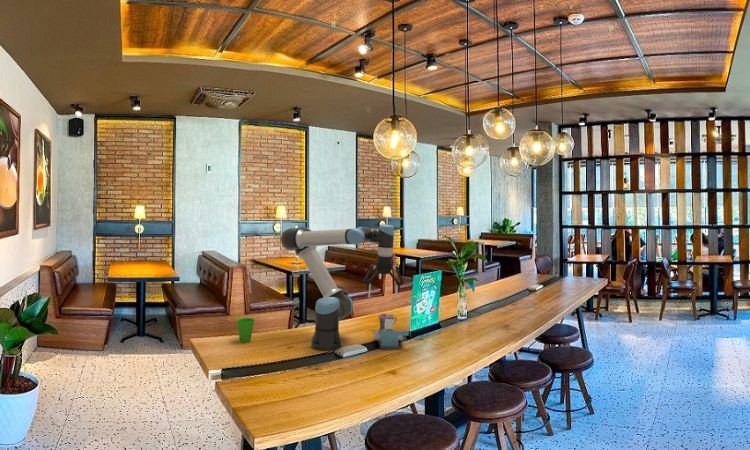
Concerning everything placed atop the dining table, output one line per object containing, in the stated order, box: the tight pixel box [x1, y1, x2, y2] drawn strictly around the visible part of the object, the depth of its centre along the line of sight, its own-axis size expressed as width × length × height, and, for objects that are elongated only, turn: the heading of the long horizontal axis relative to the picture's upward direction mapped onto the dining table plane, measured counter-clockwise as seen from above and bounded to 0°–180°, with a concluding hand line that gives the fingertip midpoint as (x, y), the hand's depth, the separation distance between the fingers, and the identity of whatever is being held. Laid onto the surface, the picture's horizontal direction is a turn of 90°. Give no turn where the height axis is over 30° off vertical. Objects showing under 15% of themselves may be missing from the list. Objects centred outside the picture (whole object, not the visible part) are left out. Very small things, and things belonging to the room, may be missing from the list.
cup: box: [236, 317, 256, 344], centre depth 238 cm, size 9×9×11 cm
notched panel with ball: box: [372, 322, 410, 351], centre depth 240 cm, size 16×16×11 cm
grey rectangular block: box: [385, 319, 395, 330], centre depth 237 cm, size 4×4×12 cm
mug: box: [377, 313, 397, 330], centre depth 259 cm, size 12×9×11 cm
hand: (382, 297), depth 238 cm, fingers open, 13 cm apart
